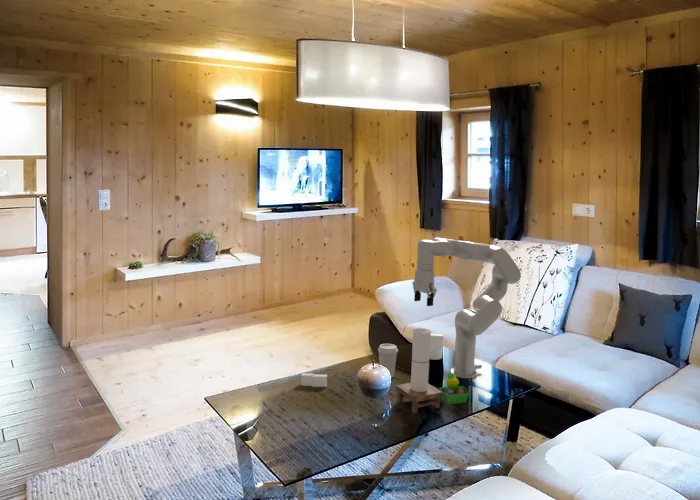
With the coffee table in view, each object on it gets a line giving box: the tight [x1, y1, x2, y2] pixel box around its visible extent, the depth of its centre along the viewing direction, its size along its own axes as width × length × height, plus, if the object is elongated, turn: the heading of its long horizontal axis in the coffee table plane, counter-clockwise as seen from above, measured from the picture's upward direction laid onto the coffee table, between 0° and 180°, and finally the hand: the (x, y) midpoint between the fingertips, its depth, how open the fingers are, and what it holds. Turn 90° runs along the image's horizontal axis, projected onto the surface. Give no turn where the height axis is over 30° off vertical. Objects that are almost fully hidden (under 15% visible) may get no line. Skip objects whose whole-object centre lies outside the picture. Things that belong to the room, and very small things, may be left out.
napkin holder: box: [301, 373, 328, 388], centre depth 258 cm, size 15×11×6 cm
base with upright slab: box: [429, 333, 444, 361], centre depth 298 cm, size 9×9×12 cm
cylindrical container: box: [410, 327, 432, 392], centre depth 237 cm, size 7×7×25 cm
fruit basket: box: [439, 373, 471, 405], centre depth 244 cm, size 11×9×11 cm
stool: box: [395, 382, 443, 414], centre depth 240 cm, size 14×14×7 cm
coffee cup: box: [377, 343, 399, 377], centre depth 269 cm, size 10×10×15 cm
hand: (423, 303), depth 264 cm, fingers open, 9 cm apart
